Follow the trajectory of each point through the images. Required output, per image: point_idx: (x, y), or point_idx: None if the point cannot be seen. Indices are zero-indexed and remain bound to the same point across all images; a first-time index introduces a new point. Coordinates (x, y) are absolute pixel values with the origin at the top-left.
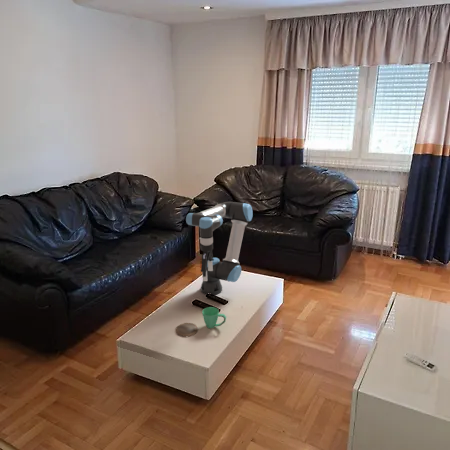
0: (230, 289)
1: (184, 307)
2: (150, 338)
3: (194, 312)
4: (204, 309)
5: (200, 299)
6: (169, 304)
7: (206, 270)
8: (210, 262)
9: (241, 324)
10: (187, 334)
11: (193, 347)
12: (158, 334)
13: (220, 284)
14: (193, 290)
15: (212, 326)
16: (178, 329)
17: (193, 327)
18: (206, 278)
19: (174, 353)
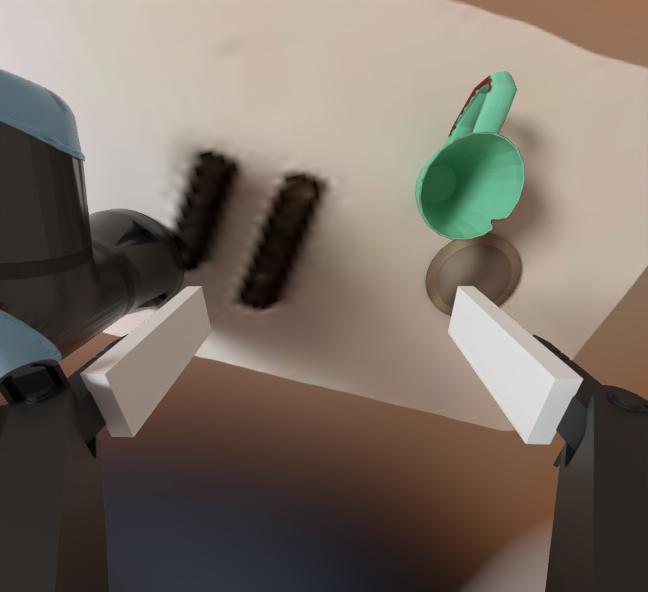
0: None
1: (308, 326)
2: None
3: (336, 282)
4: (439, 232)
5: (231, 284)
6: (301, 376)
7: (621, 399)
8: (131, 384)
9: (414, 2)
10: (513, 265)
11: (600, 218)
12: None
13: (94, 221)
14: None
15: (463, 171)
16: None
17: (464, 255)
18: (491, 308)
19: (626, 278)
